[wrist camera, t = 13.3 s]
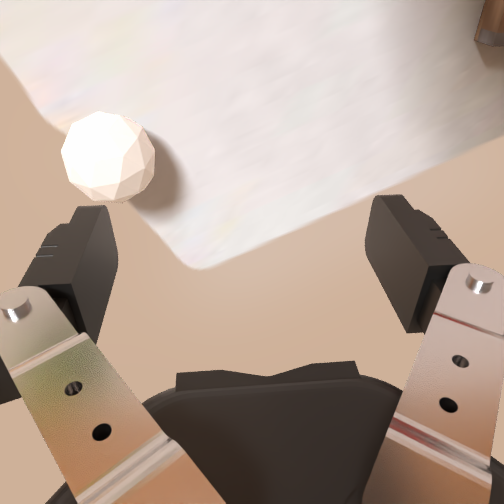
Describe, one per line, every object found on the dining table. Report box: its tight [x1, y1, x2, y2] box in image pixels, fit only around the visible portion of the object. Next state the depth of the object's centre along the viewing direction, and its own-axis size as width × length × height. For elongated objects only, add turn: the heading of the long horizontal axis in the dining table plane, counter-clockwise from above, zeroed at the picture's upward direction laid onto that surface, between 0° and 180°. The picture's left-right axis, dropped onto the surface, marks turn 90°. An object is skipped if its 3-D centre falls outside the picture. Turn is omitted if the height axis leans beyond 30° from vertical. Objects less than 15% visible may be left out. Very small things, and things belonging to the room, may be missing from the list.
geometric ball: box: [61, 111, 155, 203], centre depth 36 cm, size 8×8×8 cm
